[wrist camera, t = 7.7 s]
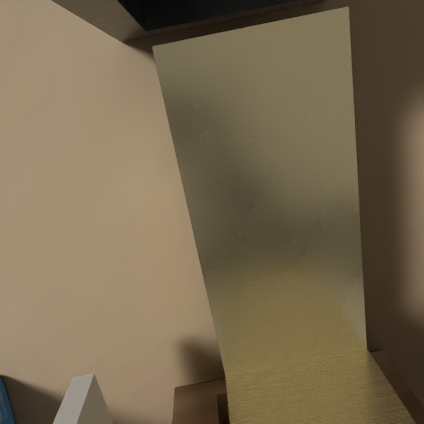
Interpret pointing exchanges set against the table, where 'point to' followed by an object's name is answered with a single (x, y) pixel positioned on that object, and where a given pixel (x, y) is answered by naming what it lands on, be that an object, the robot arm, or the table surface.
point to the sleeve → (165, 13)
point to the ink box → (5, 407)
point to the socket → (218, 403)
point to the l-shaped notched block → (278, 216)
